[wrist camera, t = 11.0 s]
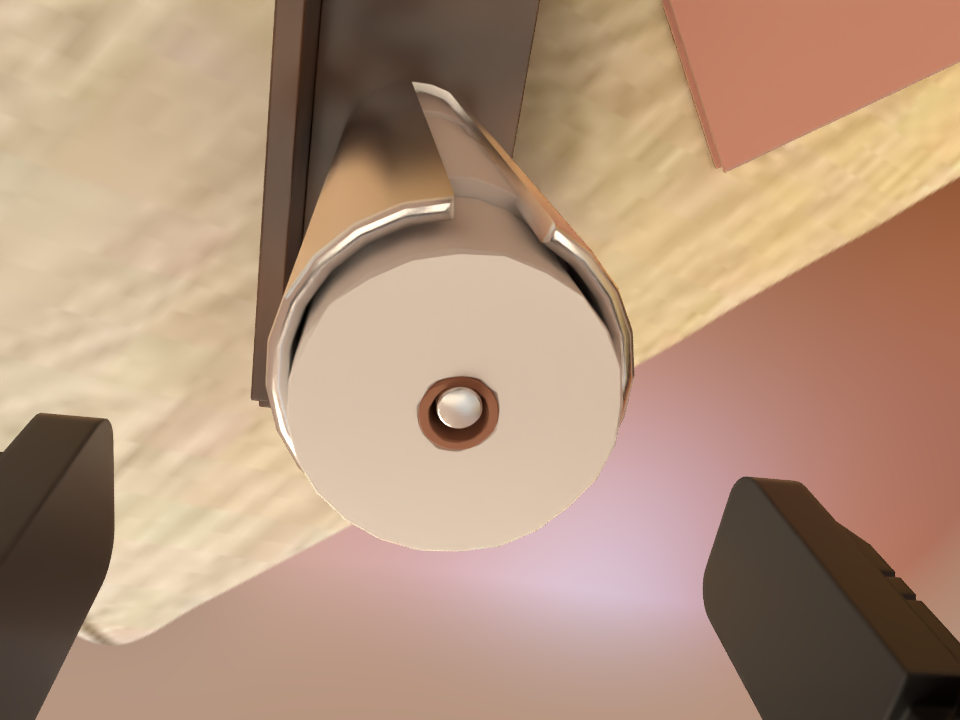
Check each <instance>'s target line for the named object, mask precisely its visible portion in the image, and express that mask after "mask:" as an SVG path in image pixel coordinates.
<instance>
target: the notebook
mask: <svg viewBox="0 0 960 720" xmlns="http://www.w3.org/2000/svg"><path fill="white" fill-rule="evenodd" d="M661 1H662V5H663V8H664V11H665V14H666V17H667V20H668V23H669V26H670V29H671V32H672V36H673V39H674V42H675V45H676V48H677V51H678V54H679V57H680V60H681V63H682V67H683V70H684V73H685V76H686V79H687V82H688V85H689V88H690V91H691V94H692V98H693V101H694V104H695V107H696V110H697V113H698V116H699V119H700V122H701V125H702V128H703V132H704V135H705V138H706V141H707V144H708V147H709V150H710V153H711V156H712V159H713V163H714V166H715V168H716V169H717V168H719V167H721V166H722V168H723V171H724V172H728V171H730V170H732V169H734V168H736V167H738V166H740V165H742V164H744V163H747V162H749V161H751V160H753V159H755V158H757V157H759V156H761V155H764V154H766V153H768V152H770V151H772V150H774V149H776V148H778V147H781V146H783V145H785V144H787V143H789V142H791V141H793V140H795V139H797V138H800V137H802V136H804V135H806V134H808V133H810V132H812V131H814V130H817V129H819V128H821V127H823V126H825V125H827V124H829V123H831V122H834V121H836V120H838V119H840V118H842V117H844V116H846V115H848V114H850V113H853V112H855V111H857V110H859V109H861V108H863V107H865V106H867V105H870V104H872V103H874V102H876V101H878V100H880V99H882V98H884V97H887V96H889V95H891V94H893V93H895V92H897V91H899V90H901V89H903V88H906V87H908V86H910V85H912V84H914V83H916V82H918V81H920V80H923V79H925V78H927V77H929V76H931V75H933V74H935V73H937V72H939V71H942V70H944V69H946V68H948V67H950V66H952V65H954V64H956V63H959V62H960V0H661Z"/></svg>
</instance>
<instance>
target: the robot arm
mask: <svg viewBox="0 0 960 720" xmlns="http://www.w3.org/2000/svg"><path fill="white" fill-rule="evenodd" d="M113 542H114V456H113V431H112V426H111V424H110V422H109V420H108V419H103V418H92V417H81V416H69V415H58V414H47V413H39V414H37V415H36V416H35V417H34V418H33V419H32V420H31V421H30V422H29V423H28V424H27V425H26V427H25V428H24V429H23V430H22V431H21V432H20V434H19V435H18V436H17V437H16V438H15V439H14V440H13V442H12V443H11V444H10V445H9V446H8V447H7V448H6V450H5V451H4V452H0V720H35V719H36V717H37V715H38V713H39V711H40V709H41V707H42V705H43V703H44V701H45V699H46V697H47V694H48V693H49V691H50V689H51V686H52V684H53V683H54V680H55V679H56V677H57V674H58V672H59V670H60V668H61V666H62V664H63V662H64V660H65V658H66V656H67V654H68V652H69V650H70V648H71V646H72V644H73V642H74V640H75V638H76V636H77V634H78V632H79V630H80V628H81V626H82V624H83V622H84V620H85V618H86V616H87V614H88V612H89V610H90V608H91V606H92V604H93V602H94V600H95V598H96V596H97V594H98V592H99V590H100V588H101V586H102V584H103V581H104V579H105V576H106V574H107V570H108V567H109V563H110V559H111V554H112V549H113ZM703 599H704V606H705V610H706V613H707V616H708V618H709V620H710V622H711V624H712V626H713V628H714V630H715V632H716V633H717V635H718V637H719V639H720V641H721V643H722V645H723V647H724V648H725V650H726V652H727V654H728V656H729V658H730V660H731V661H732V663H733V665H734V667H735V669H736V671H737V673H738V675H739V676H740V678H741V680H742V682H743V684H744V686H745V688H746V690H747V691H748V693H749V695H750V697H751V699H752V701H753V702H754V704H755V706H756V708H757V710H758V712H759V714H760V716H761V718H762V719H763V720H960V643H959V641H958V640H957V639H956V638H955V637H954V636H953V635H952V634H951V633H950V632H949V630H948V629H947V628H946V627H945V626H944V625H943V624H942V623H941V622H940V621H939V620H938V618H937V617H936V616H935V615H934V614H933V613H932V612H931V611H930V610H929V609H928V608H927V606H926V605H925V604H924V603H923V602H922V601H916V594H915V593H914V592H913V591H912V590H911V589H910V588H909V587H908V586H907V585H906V584H905V583H904V581H903V580H902V579H901V578H898V577H895V571H894V570H893V569H892V568H891V567H890V566H889V565H888V564H887V563H886V562H885V561H884V559H883V558H882V557H881V556H880V555H879V554H878V553H877V552H876V551H875V550H874V549H873V547H872V546H871V545H870V544H868V543H867V542H865V541H864V540H862V539H861V538H859V537H858V536H857V535H855V534H854V533H852V532H851V531H849V530H848V529H847V528H845V527H843V526H842V525H841V524H839V523H838V522H836V521H835V520H834V518H833V517H832V516H831V515H830V514H829V513H828V512H827V511H826V509H825V508H824V507H823V506H822V505H821V504H820V503H819V501H818V500H817V499H816V498H815V497H814V496H813V495H812V494H811V493H810V491H809V490H808V489H807V488H806V487H805V486H804V485H803V484H802V483H800V482H797V481H790V480H778V479H767V478H755V477H742V478H741V479H739V480H738V481H737V482H736V483H735V484H734V486H733V488H732V490H731V492H730V495H729V498H728V501H727V504H726V507H725V510H724V513H723V516H722V520H721V523H720V526H719V529H718V532H717V535H716V538H715V541H714V544H713V547H712V550H711V553H710V556H709V559H708V563H707V566H706V569H705V573H704V578H703Z"/></svg>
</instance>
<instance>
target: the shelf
mask: <svg viewBox="0 0 960 720" xmlns="http://www.w3.org/2000/svg"><path fill="white" fill-rule="evenodd" d="M539 3H540V0H275V12H274V29H273V45H272V61H271V78H270V94H269V110H268V126H267V143H266V159H265V175H264V191H263V208H262V224H261V240H260V257H259V273H258V289H257V305H256V322H255V338H254V354H253V371H252V387H251V400H257V401H259V406H260V407H270V408H271V405H270V401H269V397H268V393H267V389H266V385H265V384H266V363H267V343H268V337H269V334H270V331H271V329H272V326H273V323H274V320H275V317H276V315H277V312H278V309H279V306H280V303H281V301H282V298H283V295H284V292H285V289H286V287H287V284H288V281H289V278H290V276H291V273H292V270H293V267H294V265H295V262H296V259H297V257H298V254H299V251H300V248H301V246H302V243H303V240H304V237H305V235H306V232H307V229H308V226H309V224H310V221H311V218H312V215H313V213H314V210H315V207H316V204H317V202H318V199H319V196H320V193H321V191H322V188H323V185H324V182H325V180H326V177H327V174H328V172H329V169H330V166H331V163H332V161H333V158H334V155H335V152H336V150H337V147H338V144H339V141H340V139H341V136H342V133H343V130H344V128H345V125H346V122H347V120H348V118H349V117H350V116H351V114H352V113H353V111H354V110H355V108H356V107H357V106H358V104H359V103H360V102H362V101H363V100H364V99H365V98H367V97H368V96H369V95H370V94H372V93H373V92H374V91H376V90H379V89H381V88H383V87H386V86H388V85H390V84H394V83H402V82H409V81H413V82H420V83H427V84H432V85H434V86H437V87H439V88H441V89H443V90H446V91H448V92H450V93H451V94H452V95H453V96H455V97H456V98H457V99H458V100H460V101H461V102H462V103H463V104H464V105H465V106H466V107H467V108H468V109H469V110H470V111H471V113H472V114H473V115H474V116H475V117H476V118H477V119H478V121H479V122H480V123H481V124H482V125H483V126H484V127H485V129H486V130H487V131H488V132H489V133H490V134H491V136H492V137H493V138H494V139H495V140H496V141H497V142H498V144H499V145H500V146H501V147H502V148H503V149H504V151H505V152H506V153H507V154H508V155H509V156H510V157H511V159H512V157H513V151H514V145H515V139H516V134H517V128H518V122H519V117H520V111H521V105H522V100H523V94H524V88H525V83H526V77H527V71H528V66H529V60H530V54H531V49H532V43H533V37H534V32H535V26H536V20H537V14H538V9H539Z"/></svg>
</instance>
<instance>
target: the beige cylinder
mask: <svg viewBox="0 0 960 720" xmlns="http://www.w3.org/2000/svg"><path fill="white" fill-rule="evenodd" d="M633 379H634V358H633V333H632V328H631V325H630V322H629V319H628V316H627V313H626V310H625V307H624V304H623V301H622V298H621V295H620V292H619V289H618V287H617V286H616V285H615V283H614V282H613V280H612V279H611V277H610V276H609V275H608V273H607V272H606V270H605V269H604V268H603V266H602V265H601V263H600V262H599V261H598V259H597V258H596V256H595V255H594V253H593V252H592V251H591V249H590V248H589V247H588V246H587V245H586V244H585V243H584V241H583V240H582V239H581V238H580V237H579V236H578V235H577V233H576V232H575V231H574V230H573V229H572V228H571V226H570V225H569V224H568V223H567V222H566V221H565V220H564V218H563V217H562V216H561V215H560V214H559V213H558V211H557V210H556V209H555V208H554V207H553V206H552V205H551V203H550V202H549V201H548V200H547V199H546V198H545V197H544V195H543V194H542V193H541V192H540V191H539V190H538V188H537V187H536V186H535V185H534V184H533V183H532V182H531V180H530V179H529V178H528V177H527V176H526V175H525V174H524V172H523V171H522V170H521V169H520V168H519V167H518V165H517V164H516V163H515V162H514V161H513V160H512V159H511V157H510V156H509V155H508V154H507V153H506V152H505V151H504V149H503V148H502V147H501V146H500V145H499V144H498V142H497V141H496V140H495V139H494V138H493V137H492V136H491V134H490V133H489V132H488V131H487V130H486V129H485V127H484V126H483V125H482V124H481V123H480V122H479V121H478V119H477V118H476V117H475V116H474V115H473V114H472V113H471V111H470V110H469V109H468V108H467V107H466V106H465V105H464V104H463V103H462V102H461V101H460V100H458V99H457V98H456V97H455V96H453V95H452V94H451V93H450V92H448V91H446V90H443V89H441V88H439V87H437V86H434V85H432V84H427V83H420V82H413V81H409V82H402V83H394V84H390V85H388V86H386V87H383V88H381V89H379V90H376V91H374V92H373V93H372V94H370V95H369V96H368V97H367V98H365V99H364V100H363V101H362V102H360V103H359V104H358V106H357V107H356V108H355V110H354V111H353V113H352V114H351V116H350V117H349V118H348V120H347V122H346V125H345V128H344V130H343V133H342V136H341V139H340V141H339V144H338V147H337V150H336V152H335V155H334V158H333V161H332V163H331V166H330V169H329V172H328V174H327V177H326V180H325V182H324V185H323V188H322V191H321V193H320V196H319V199H318V202H317V204H316V207H315V210H314V213H313V215H312V218H311V221H310V224H309V226H308V229H307V232H306V235H305V237H304V240H303V243H302V246H301V248H300V251H299V254H298V257H297V259H296V262H295V265H294V267H293V270H292V273H291V276H290V278H289V281H288V284H287V287H286V289H285V292H284V295H283V298H282V301H281V303H280V306H279V309H278V312H277V315H276V317H275V320H274V323H273V326H272V329H271V331H270V334H269V337H268V343H267V363H266V384H265V385H266V389H267V393H268V397H269V401H270V405H271V409H272V413H273V417H274V421H275V425H276V429H277V431H278V433H279V435H280V436H281V438H282V440H283V442H284V443H285V445H286V447H287V448H288V450H289V452H290V454H291V455H292V457H293V459H294V460H295V462H296V464H297V466H298V467H299V468H300V469H301V470H302V471H303V472H304V473H305V475H306V476H307V478H308V480H309V481H310V483H311V485H312V486H313V488H314V490H315V491H316V493H317V494H318V495H319V496H320V497H321V498H322V499H323V500H324V501H326V502H327V503H328V504H329V505H330V506H331V507H332V508H333V509H334V510H335V511H336V512H337V513H338V514H339V515H340V516H341V517H342V518H343V519H345V520H346V521H348V522H350V523H351V524H353V525H355V526H357V527H359V528H360V529H362V530H364V531H366V532H367V533H369V534H371V535H373V536H375V537H376V538H378V539H380V540H384V541H387V542H391V543H395V544H398V545H402V546H405V547H409V548H412V549H416V550H427V551H428V550H429V551H466V550H474V549H483V548H490V547H499V546H502V545H504V544H506V543H509V542H511V541H513V540H516V539H518V538H520V537H523V536H525V535H527V534H530V533H532V532H534V531H537V530H538V529H540V528H541V527H542V526H544V525H545V524H546V523H548V522H549V521H550V520H552V519H553V518H554V517H556V516H557V515H559V514H560V513H561V512H563V511H564V510H565V509H567V508H568V507H570V506H571V505H572V504H573V502H574V501H575V500H577V499H578V497H579V496H580V495H581V494H582V493H583V492H584V491H585V490H586V489H587V488H588V487H589V486H590V485H591V484H592V483H593V482H594V481H595V480H596V479H597V478H598V476H599V474H600V472H601V470H602V468H603V466H604V464H605V463H606V460H607V459H608V457H609V455H610V453H611V451H612V449H613V448H614V446H615V443H616V438H617V433H618V428H619V426H620V424H621V422H622V421H623V418H624V415H625V412H626V407H627V404H628V400H629V395H630V391H631V387H632V383H633Z"/></svg>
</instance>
